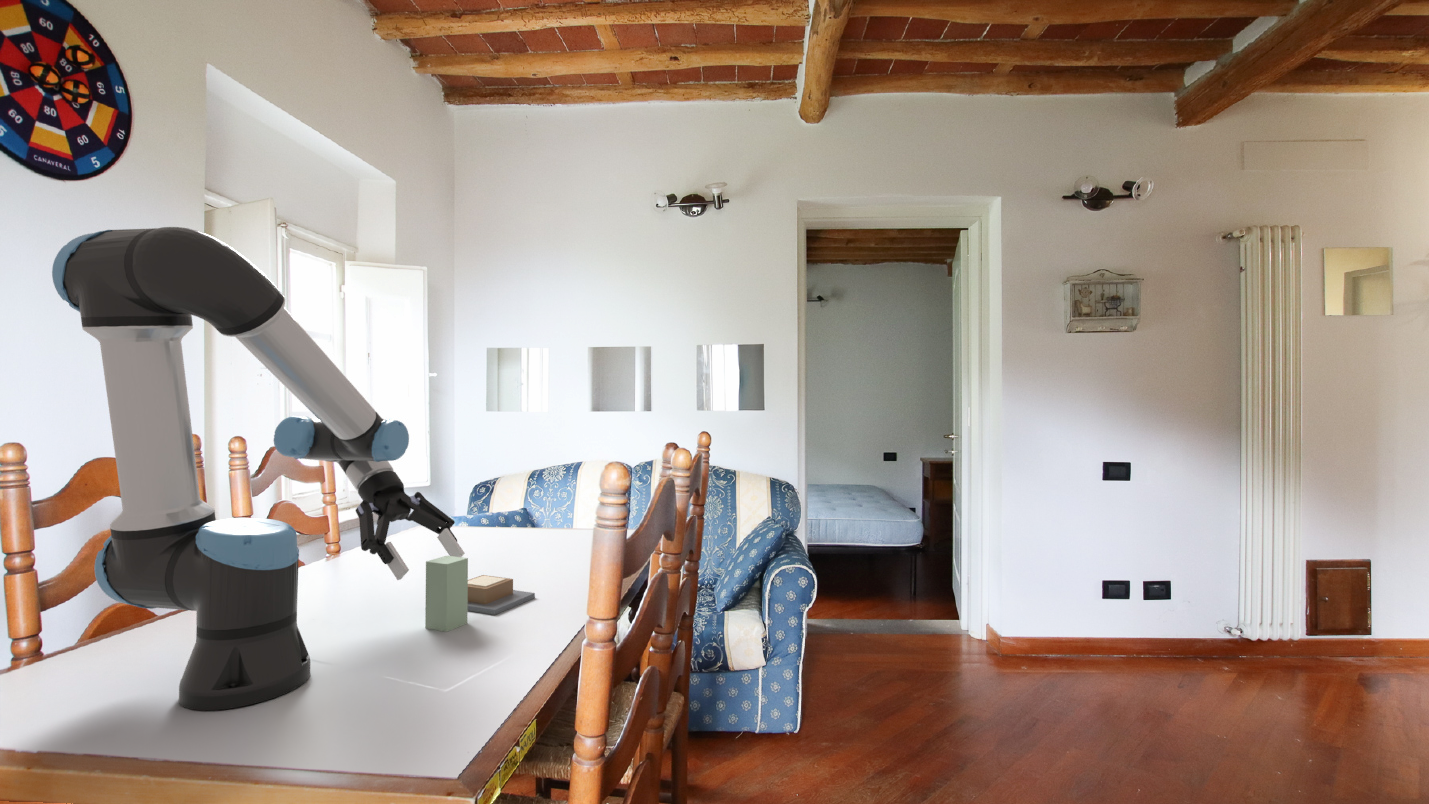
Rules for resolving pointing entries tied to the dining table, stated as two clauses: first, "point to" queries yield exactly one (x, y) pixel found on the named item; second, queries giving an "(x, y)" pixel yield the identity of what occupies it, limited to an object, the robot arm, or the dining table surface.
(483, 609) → the build base
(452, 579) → the sage block
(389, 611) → the dining table surface
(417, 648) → the dining table surface
